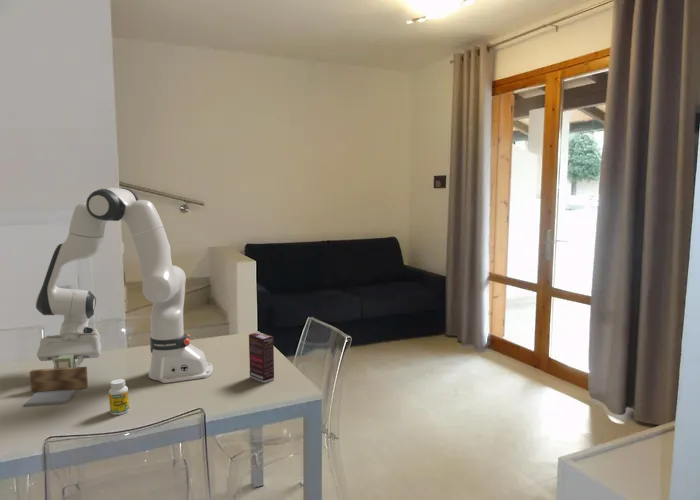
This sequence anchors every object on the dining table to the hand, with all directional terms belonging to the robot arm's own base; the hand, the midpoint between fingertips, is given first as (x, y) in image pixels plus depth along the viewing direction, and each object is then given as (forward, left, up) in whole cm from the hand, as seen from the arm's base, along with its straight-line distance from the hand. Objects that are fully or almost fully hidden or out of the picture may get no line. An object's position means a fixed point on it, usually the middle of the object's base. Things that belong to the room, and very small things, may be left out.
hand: (65, 369), depth 179 cm
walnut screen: (0, +6, -4) cm, 8 cm away
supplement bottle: (-24, +28, -5) cm, 37 cm away
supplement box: (-67, +9, -5) cm, 68 cm away
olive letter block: (0, -1, -4) cm, 4 cm away
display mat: (0, +14, -4) cm, 15 cm away
